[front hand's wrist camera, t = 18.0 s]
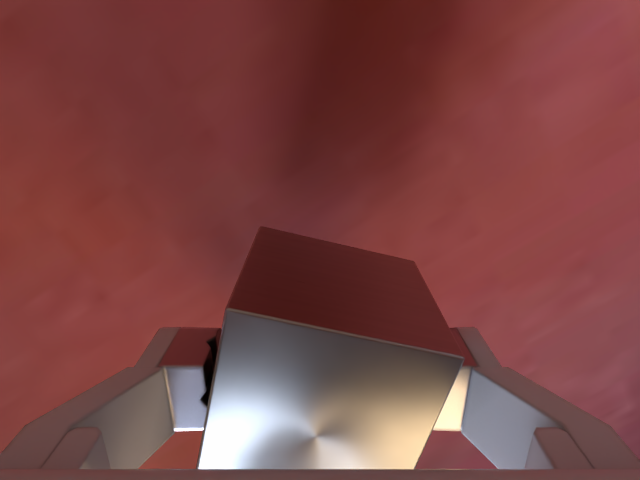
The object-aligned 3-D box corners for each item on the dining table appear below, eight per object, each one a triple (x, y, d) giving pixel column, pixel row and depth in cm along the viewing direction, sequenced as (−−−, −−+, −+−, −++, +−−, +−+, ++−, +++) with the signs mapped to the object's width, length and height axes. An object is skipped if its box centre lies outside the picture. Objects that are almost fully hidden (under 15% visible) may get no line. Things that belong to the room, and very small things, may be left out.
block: (230, 369, 13) (189, 502, 9) (259, 225, 11) (225, 307, 7) (365, 395, 13) (385, 534, 9) (414, 260, 11) (467, 358, 7)
